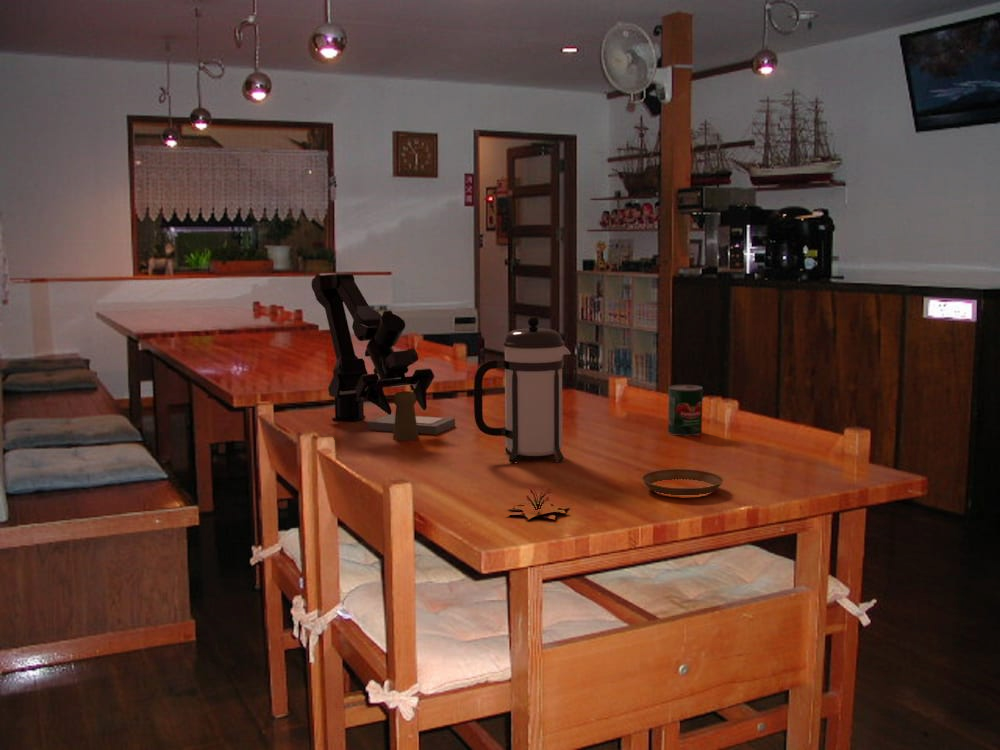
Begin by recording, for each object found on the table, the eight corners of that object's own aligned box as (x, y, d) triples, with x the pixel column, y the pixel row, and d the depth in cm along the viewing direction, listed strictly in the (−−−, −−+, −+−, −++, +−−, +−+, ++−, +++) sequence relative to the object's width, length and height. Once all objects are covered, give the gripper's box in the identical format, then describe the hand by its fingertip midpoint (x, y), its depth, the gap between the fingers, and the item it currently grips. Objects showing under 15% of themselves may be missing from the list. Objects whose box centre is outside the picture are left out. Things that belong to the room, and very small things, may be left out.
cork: (417, 440, 232) (416, 393, 231) (391, 440, 232) (390, 393, 231) (420, 435, 238) (419, 389, 237) (394, 435, 238) (393, 389, 237)
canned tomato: (687, 437, 233) (688, 390, 231) (661, 432, 239) (661, 387, 237) (708, 433, 238) (709, 387, 236) (682, 428, 244) (682, 383, 242)
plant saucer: (670, 506, 176) (670, 491, 176) (626, 487, 190) (626, 473, 189) (739, 496, 182) (739, 482, 182) (692, 478, 196) (693, 465, 195)
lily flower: (493, 521, 169) (492, 494, 168) (517, 503, 180) (517, 478, 179) (561, 528, 165) (561, 501, 164) (582, 509, 176) (582, 484, 175)
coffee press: (529, 446, 225) (528, 312, 221) (583, 457, 214) (583, 316, 210) (472, 458, 213) (470, 317, 209) (526, 471, 202) (526, 321, 198)
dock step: (369, 429, 246) (368, 421, 245) (390, 421, 256) (390, 413, 255) (436, 434, 239) (436, 425, 239) (455, 426, 249) (454, 417, 249)
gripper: (359, 340, 230) (383, 394, 223) (429, 334, 241) (455, 386, 233) (345, 370, 238) (367, 423, 230) (414, 364, 248) (438, 414, 241)
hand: (408, 411), depth 233 cm, fingers open, 9 cm apart
